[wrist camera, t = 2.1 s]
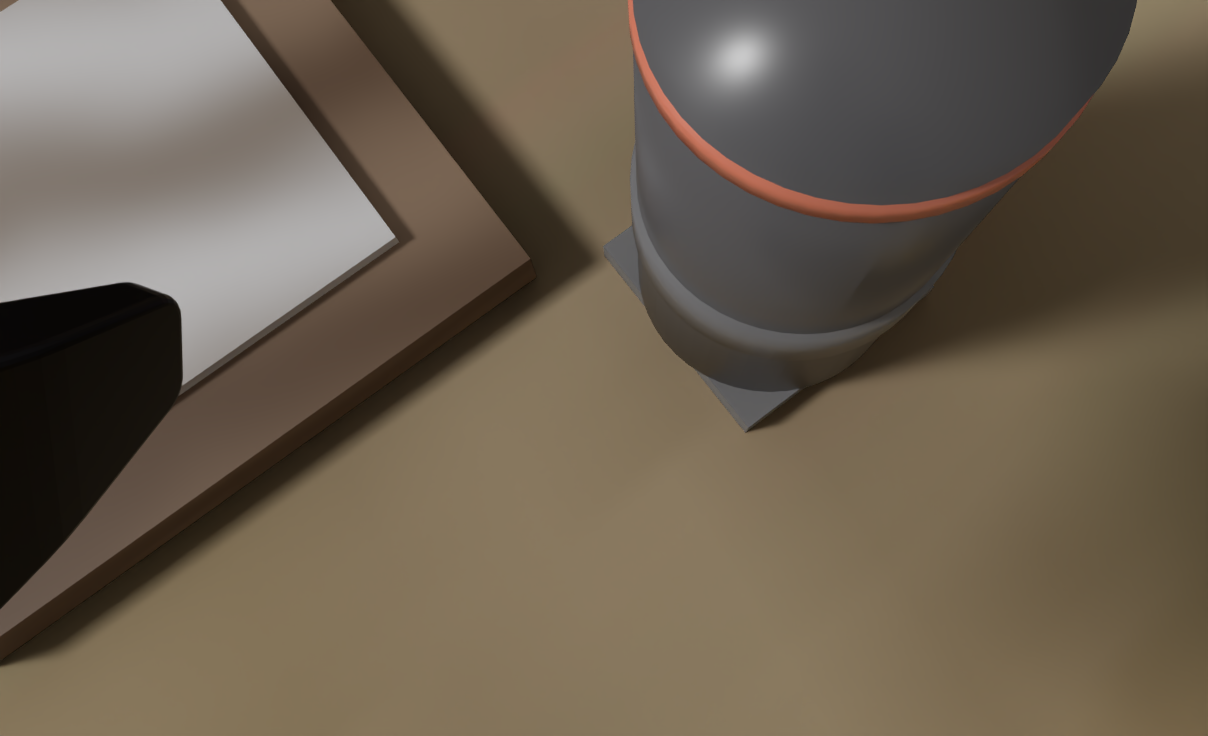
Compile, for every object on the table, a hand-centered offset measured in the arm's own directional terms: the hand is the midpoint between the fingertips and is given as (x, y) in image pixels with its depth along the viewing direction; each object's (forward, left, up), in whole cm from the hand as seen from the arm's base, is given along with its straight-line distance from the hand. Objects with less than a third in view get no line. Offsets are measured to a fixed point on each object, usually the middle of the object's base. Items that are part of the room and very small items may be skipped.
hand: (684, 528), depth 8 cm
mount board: (+14, +5, -13) cm, 19 cm away
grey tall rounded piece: (+4, -6, -13) cm, 14 cm away
